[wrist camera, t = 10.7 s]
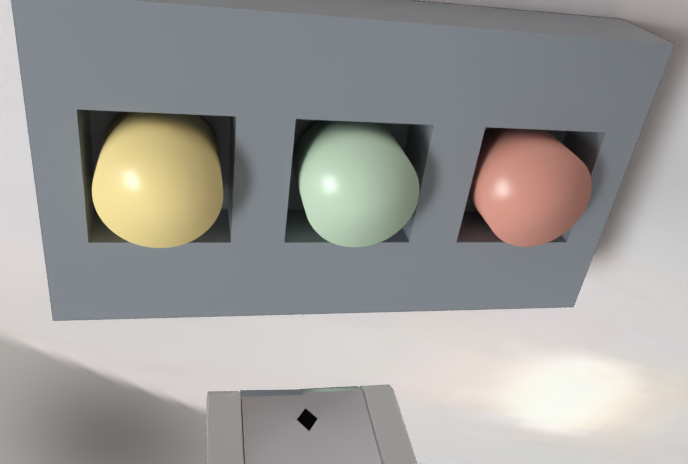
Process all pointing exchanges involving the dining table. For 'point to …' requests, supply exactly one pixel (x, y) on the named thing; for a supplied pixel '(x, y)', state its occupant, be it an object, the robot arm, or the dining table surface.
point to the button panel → (296, 118)
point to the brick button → (528, 185)
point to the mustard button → (158, 178)
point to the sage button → (354, 182)
